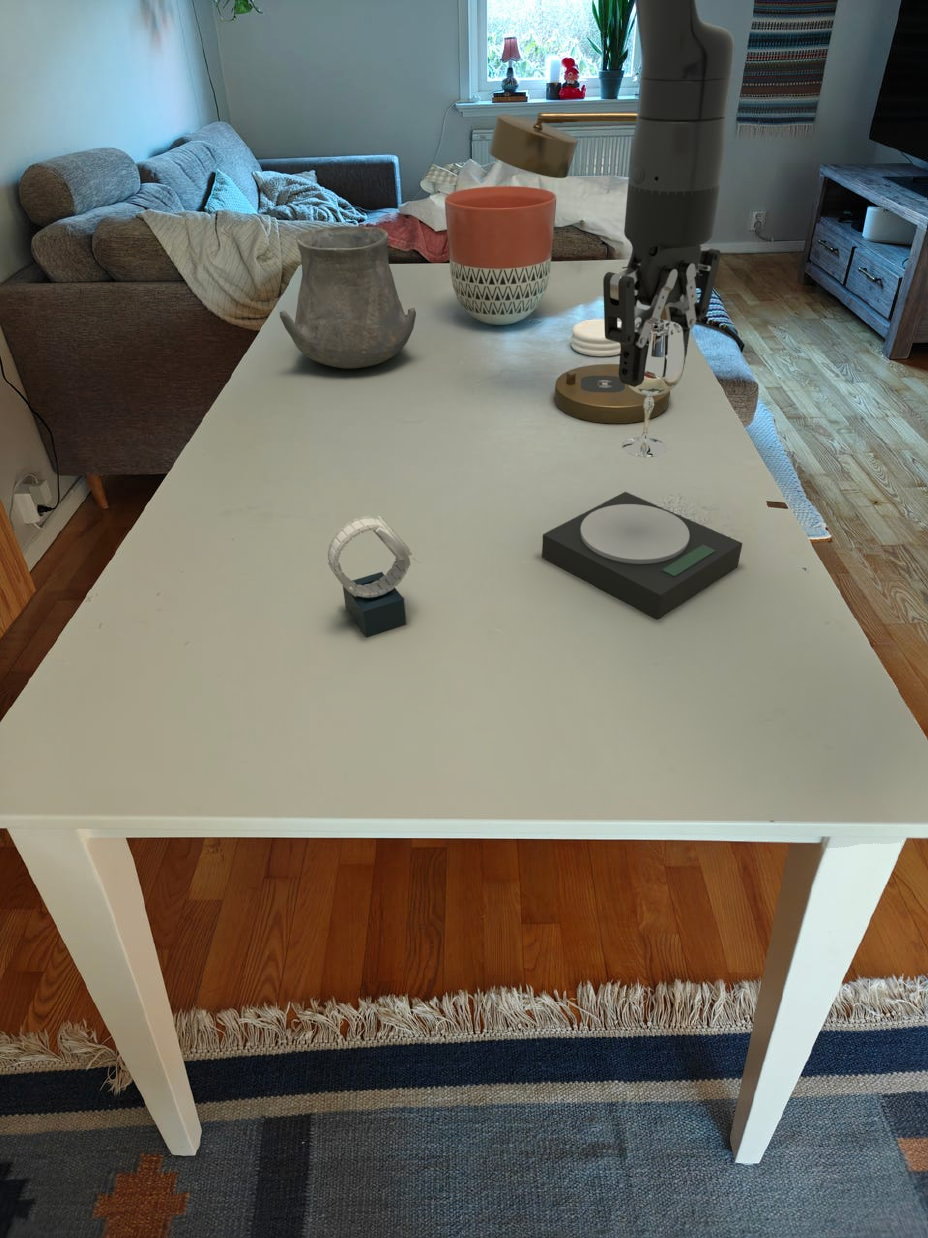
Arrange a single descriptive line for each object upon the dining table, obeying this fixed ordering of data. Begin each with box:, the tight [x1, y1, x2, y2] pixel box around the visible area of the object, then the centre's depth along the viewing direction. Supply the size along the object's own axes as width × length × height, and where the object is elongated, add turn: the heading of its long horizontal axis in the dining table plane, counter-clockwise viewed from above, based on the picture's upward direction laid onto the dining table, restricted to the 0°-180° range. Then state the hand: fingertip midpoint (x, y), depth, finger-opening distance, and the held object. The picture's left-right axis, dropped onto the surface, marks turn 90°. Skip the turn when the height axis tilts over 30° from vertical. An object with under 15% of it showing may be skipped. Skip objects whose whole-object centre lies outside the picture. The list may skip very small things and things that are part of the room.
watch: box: [327, 514, 413, 638], centre depth 83 cm, size 6×8×11 cm
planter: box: [444, 185, 557, 326], centre depth 155 cm, size 20×20×21 cm
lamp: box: [488, 111, 671, 425], centre depth 118 cm, size 17×27×38 cm, turn 83°
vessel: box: [279, 225, 417, 369], centre depth 141 cm, size 22×22×20 cm
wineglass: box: [621, 319, 686, 458], centre depth 82 cm, size 6×6×12 cm
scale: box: [541, 491, 743, 620], centre depth 92 cm, size 16×14×4 cm
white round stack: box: [570, 318, 622, 357], centre depth 147 cm, size 10×10×4 cm
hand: (652, 374), depth 81 cm, fingers closed on wineglass, 5 cm apart
